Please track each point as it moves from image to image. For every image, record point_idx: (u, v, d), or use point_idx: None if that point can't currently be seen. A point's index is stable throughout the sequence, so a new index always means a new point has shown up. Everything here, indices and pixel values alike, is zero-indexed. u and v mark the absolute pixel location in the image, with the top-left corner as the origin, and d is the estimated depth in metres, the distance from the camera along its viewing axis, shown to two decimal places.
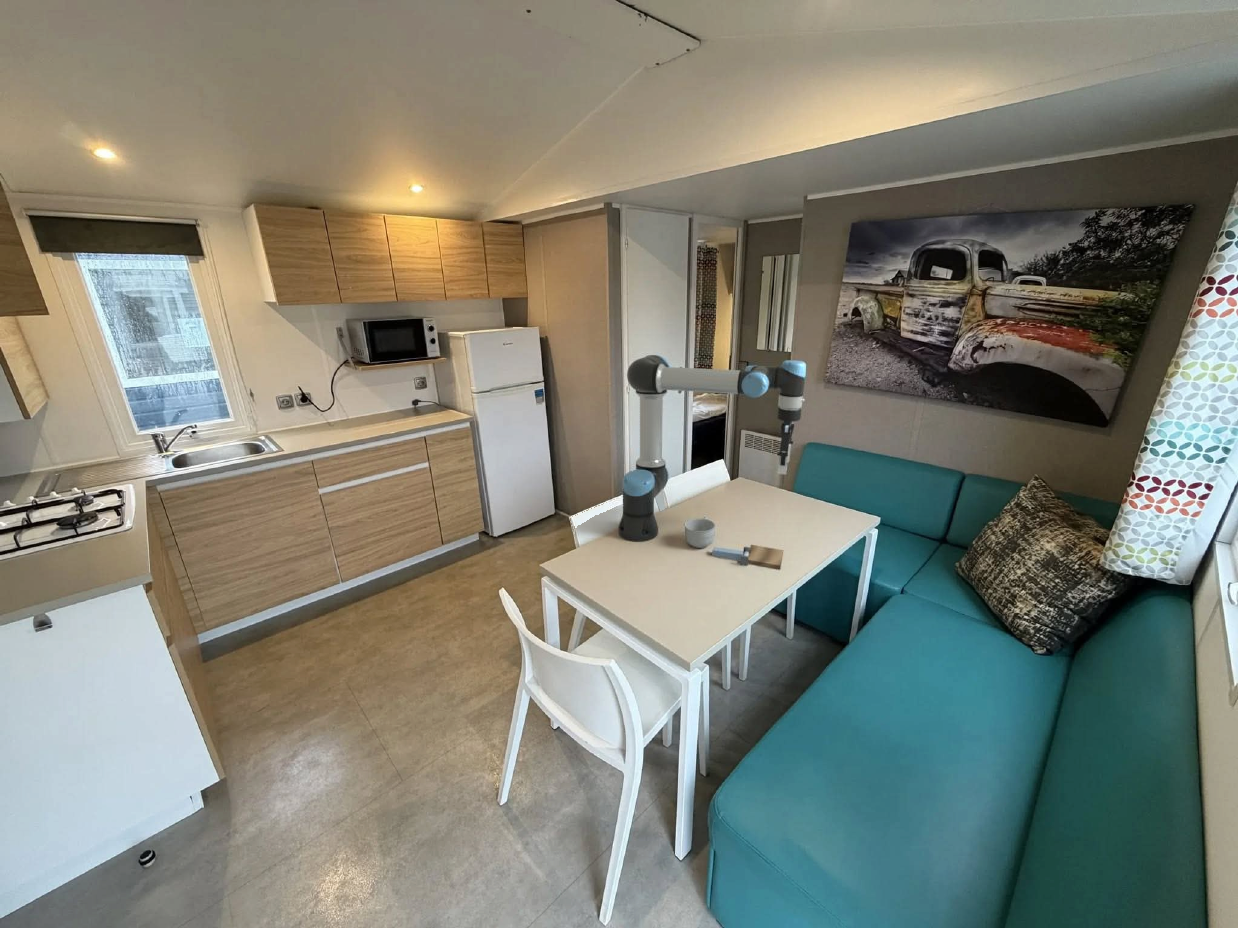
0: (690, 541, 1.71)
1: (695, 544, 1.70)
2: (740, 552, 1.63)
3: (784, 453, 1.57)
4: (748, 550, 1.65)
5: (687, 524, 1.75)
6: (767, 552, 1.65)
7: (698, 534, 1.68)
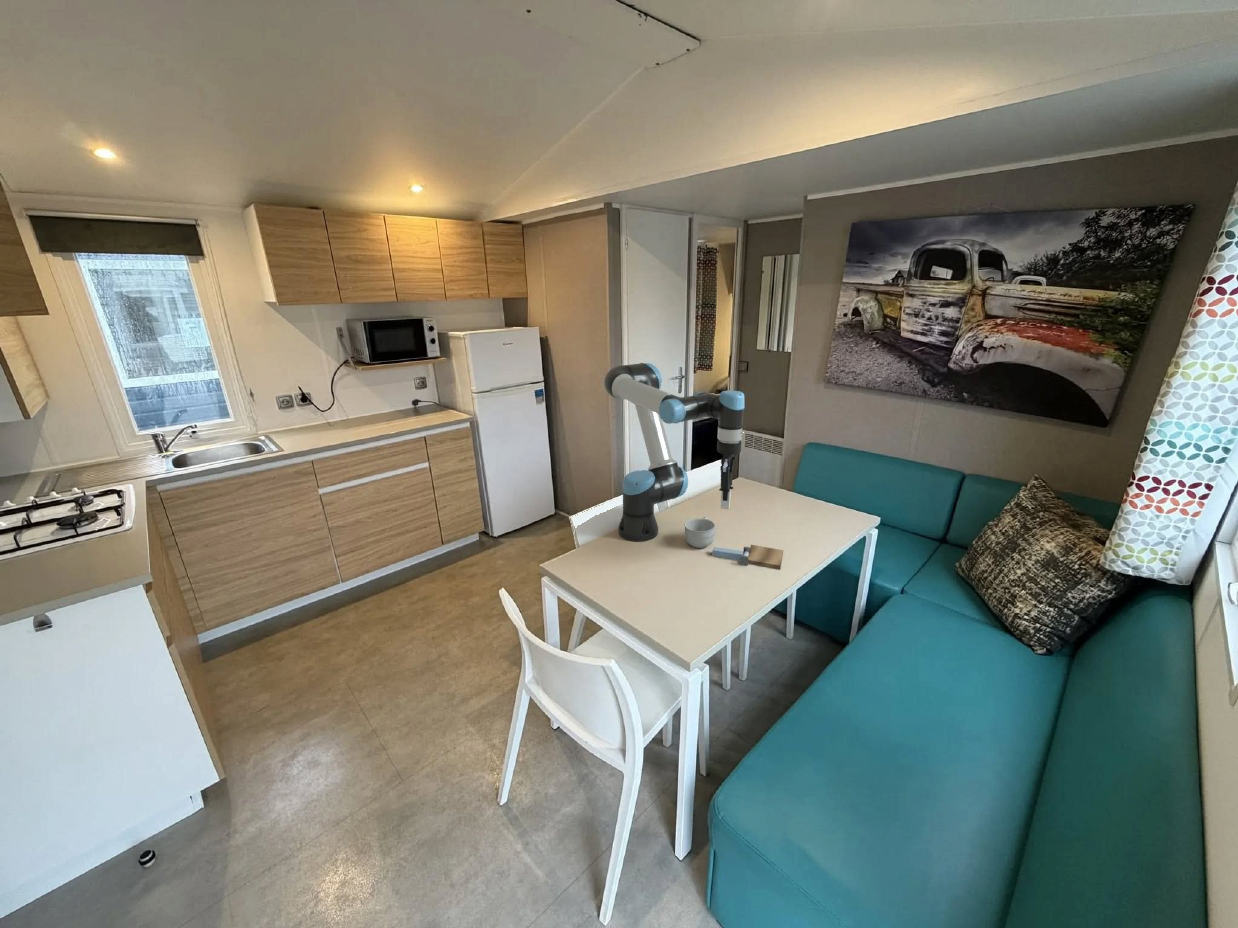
0: (690, 541, 1.71)
1: (695, 544, 1.70)
2: (740, 552, 1.63)
3: (725, 490, 1.55)
4: (748, 550, 1.65)
5: (687, 524, 1.75)
6: (767, 552, 1.65)
7: (698, 534, 1.68)
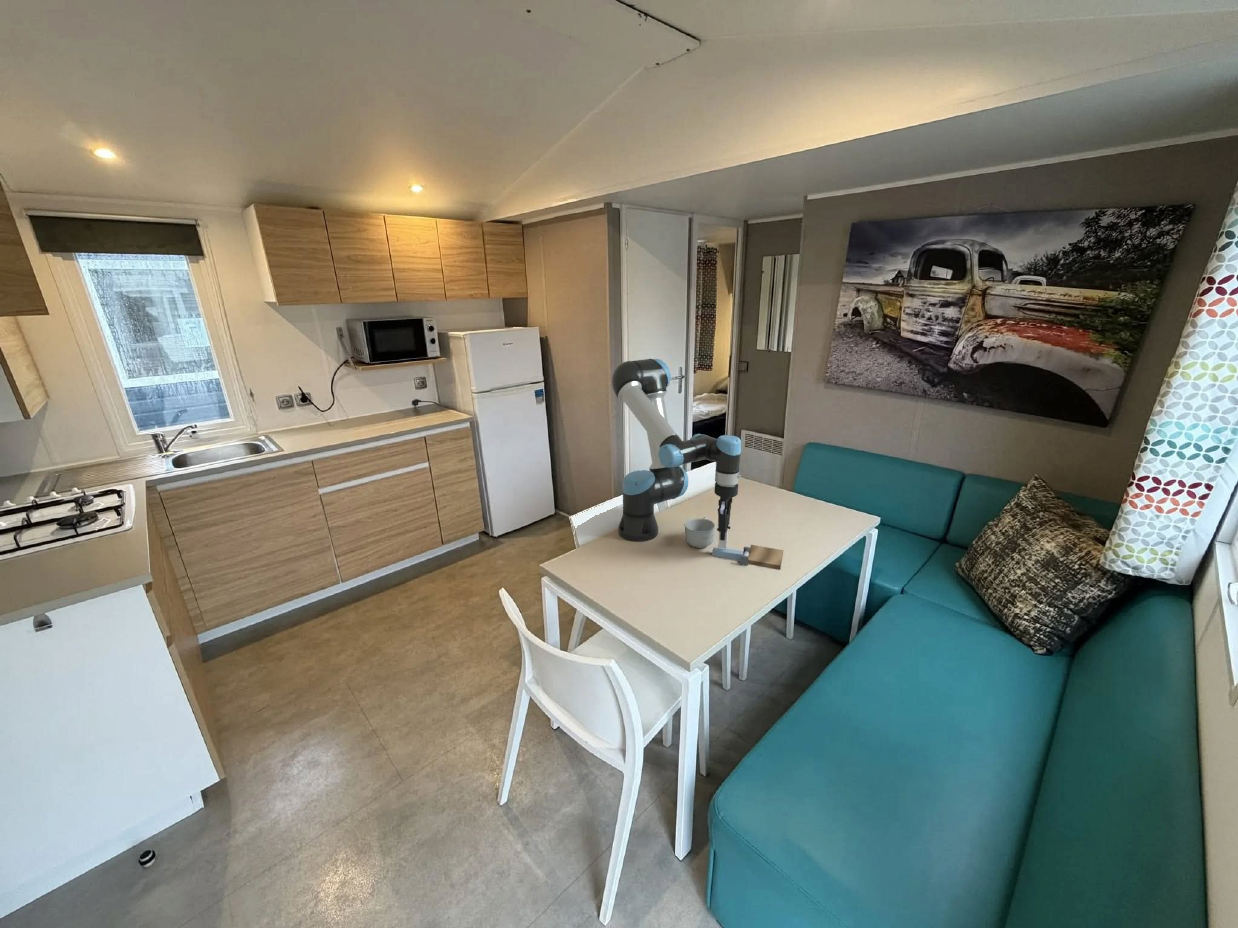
0: (690, 541, 1.71)
1: (695, 544, 1.70)
2: (740, 552, 1.63)
3: (722, 530, 1.60)
4: (748, 550, 1.65)
5: (687, 524, 1.75)
6: (767, 552, 1.65)
7: (698, 534, 1.68)
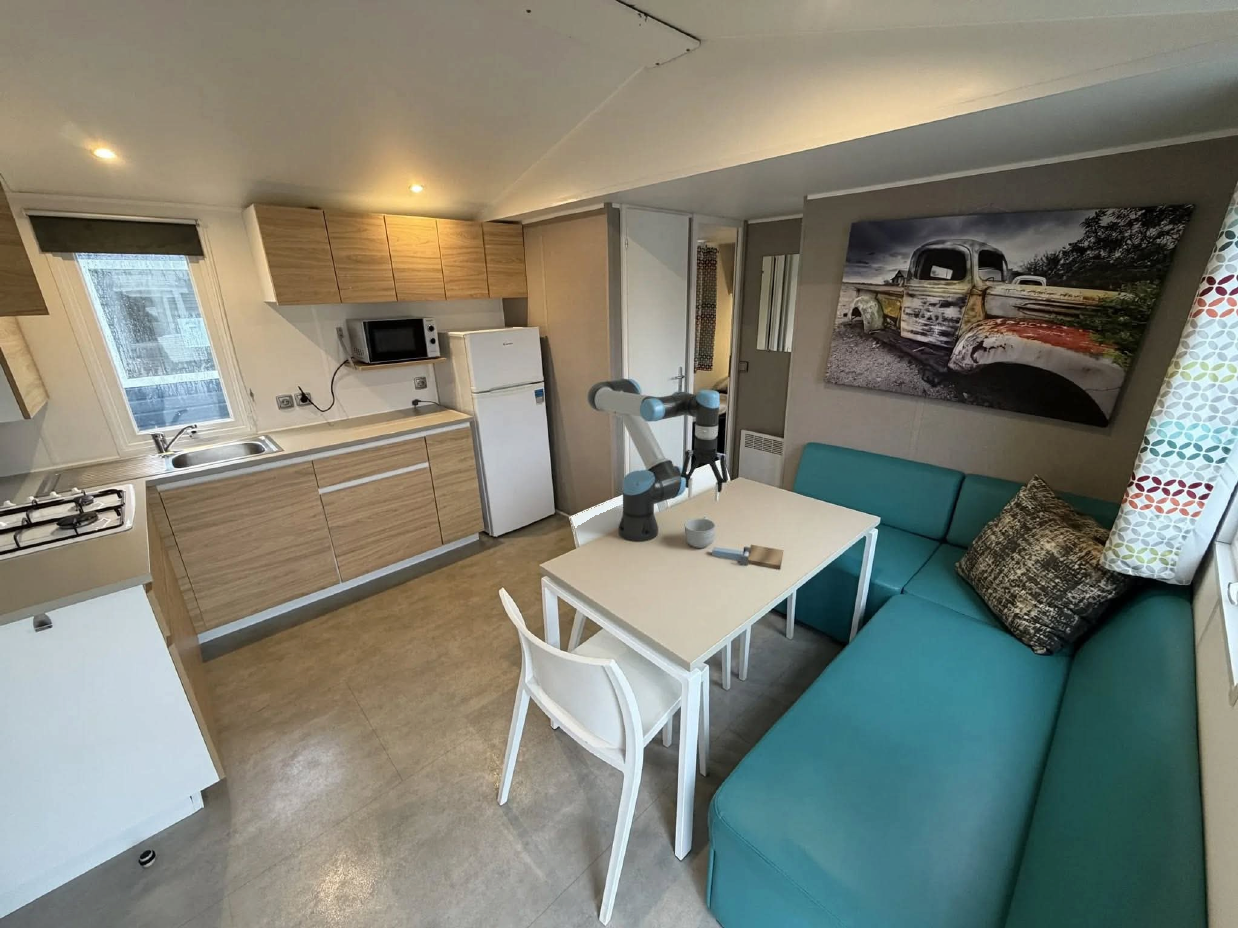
0: (690, 541, 1.71)
1: (695, 544, 1.70)
2: (740, 552, 1.63)
3: None
4: (748, 550, 1.65)
5: (687, 524, 1.75)
6: (767, 552, 1.65)
7: (698, 534, 1.68)
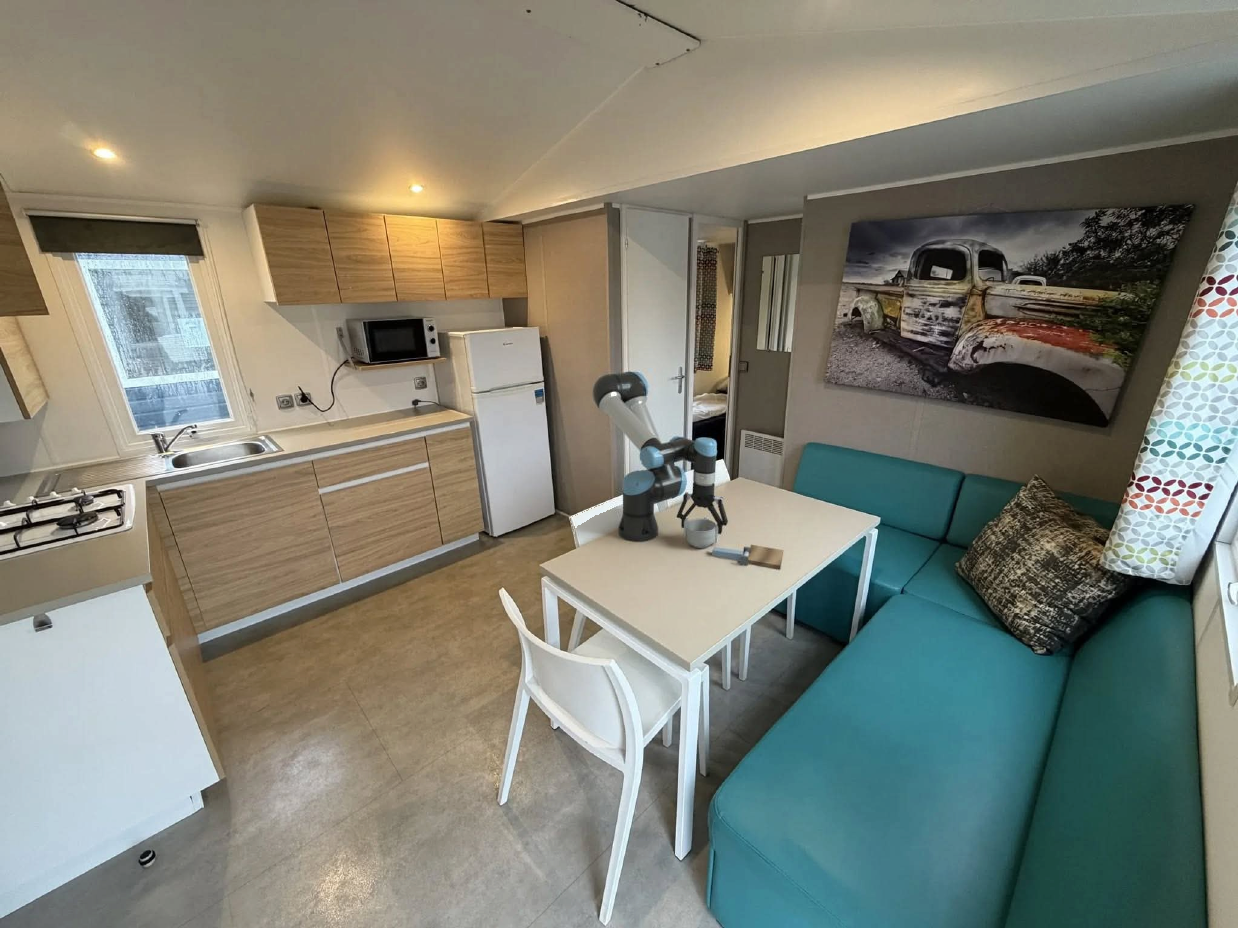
0: (691, 541, 1.71)
1: (696, 544, 1.70)
2: (740, 552, 1.63)
3: None
4: (748, 550, 1.65)
5: (688, 524, 1.75)
6: (767, 552, 1.65)
7: (699, 534, 1.68)
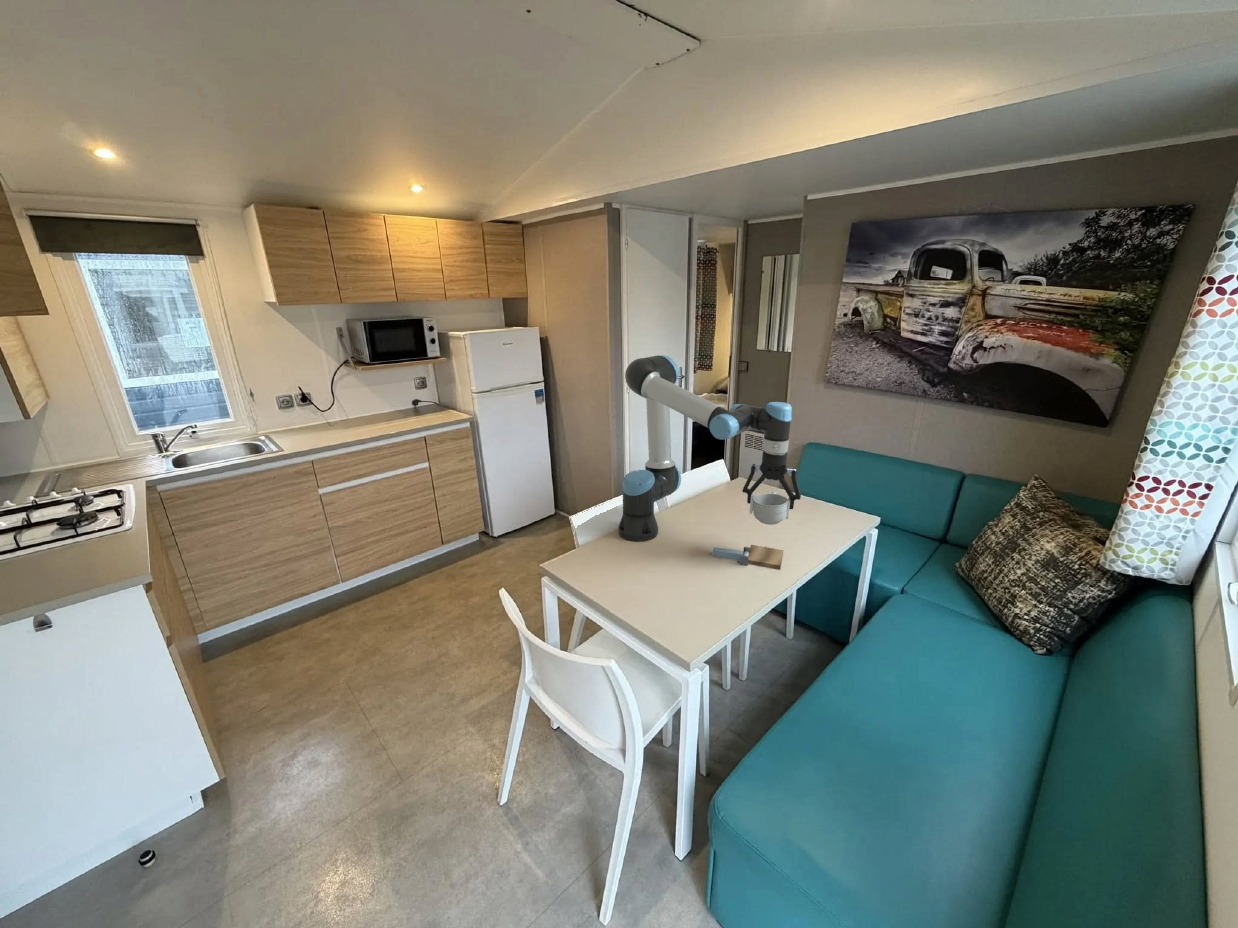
0: (760, 517, 1.55)
1: (766, 520, 1.54)
2: (740, 552, 1.63)
3: (743, 488, 1.60)
4: (748, 550, 1.65)
5: (755, 499, 1.59)
6: (767, 552, 1.65)
7: (770, 509, 1.52)
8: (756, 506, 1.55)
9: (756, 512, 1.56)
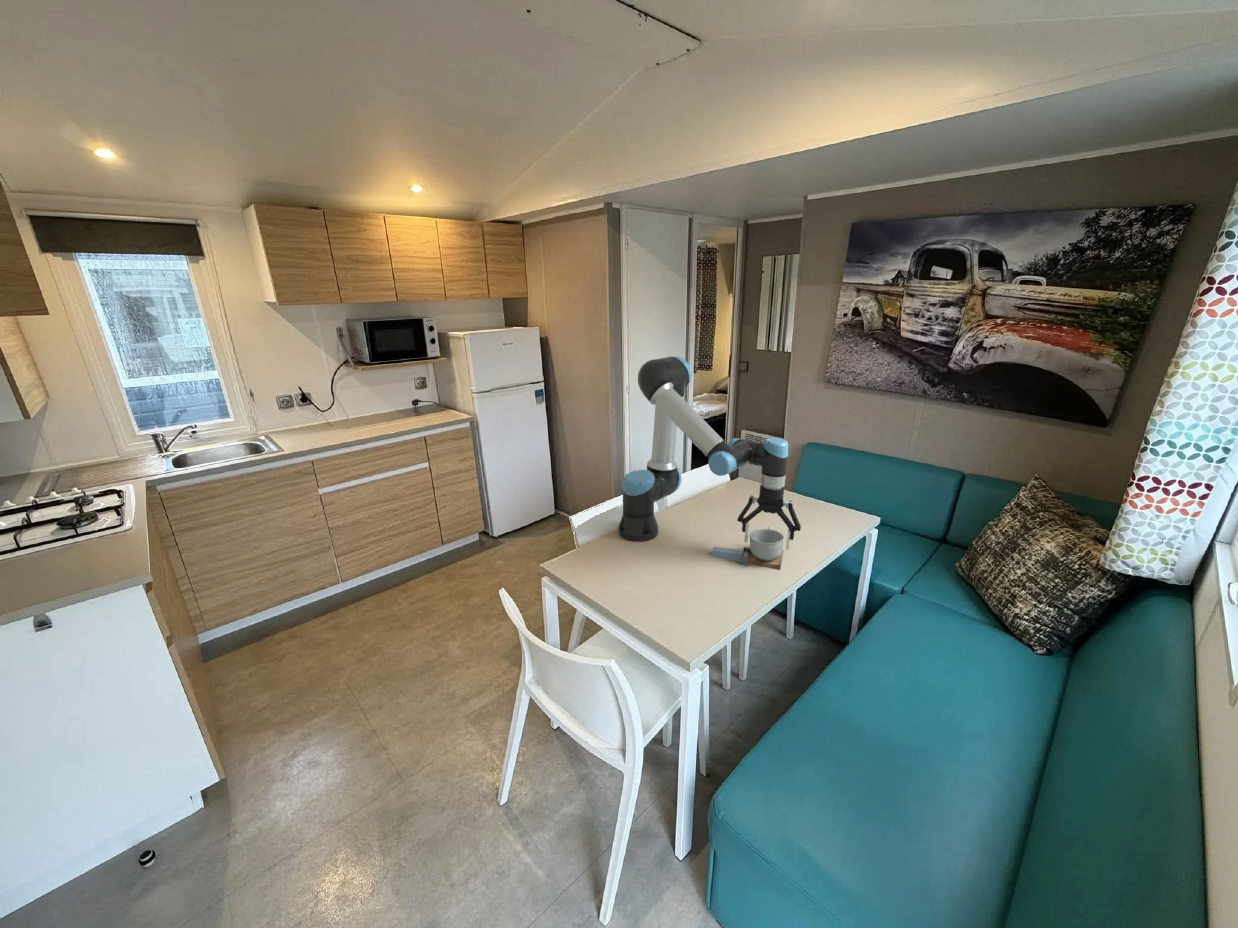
0: (757, 553, 1.59)
1: (762, 557, 1.58)
2: (740, 552, 1.63)
3: (738, 517, 1.64)
4: (748, 550, 1.65)
5: (752, 535, 1.64)
6: None
7: (766, 546, 1.56)
8: (753, 542, 1.59)
9: (753, 548, 1.60)
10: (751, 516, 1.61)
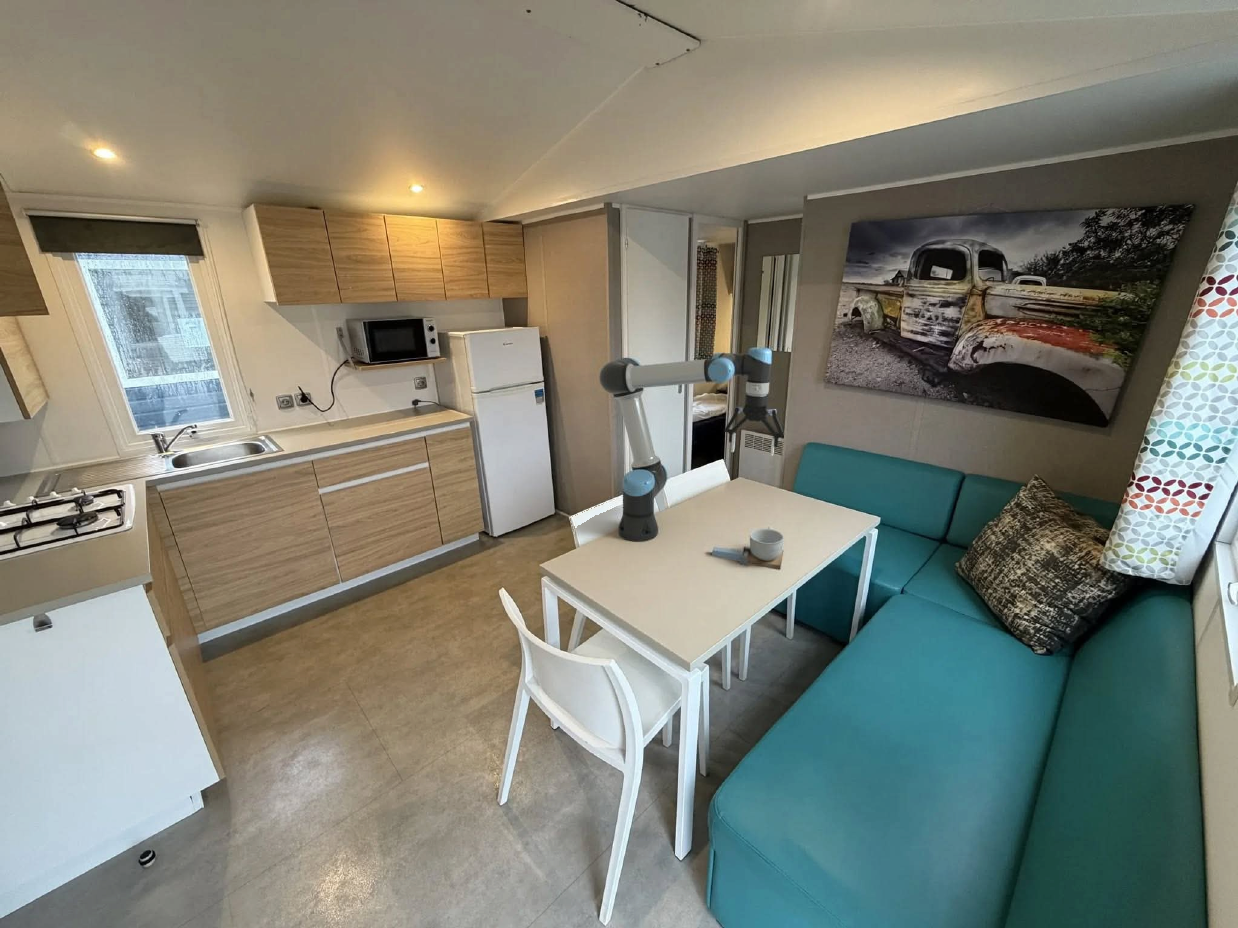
0: (757, 553, 1.59)
1: (762, 557, 1.58)
2: (740, 552, 1.63)
3: (725, 428, 1.73)
4: (748, 550, 1.65)
5: (752, 535, 1.64)
6: None
7: (767, 546, 1.56)
8: (753, 543, 1.59)
9: (753, 548, 1.60)
10: (737, 425, 1.70)
